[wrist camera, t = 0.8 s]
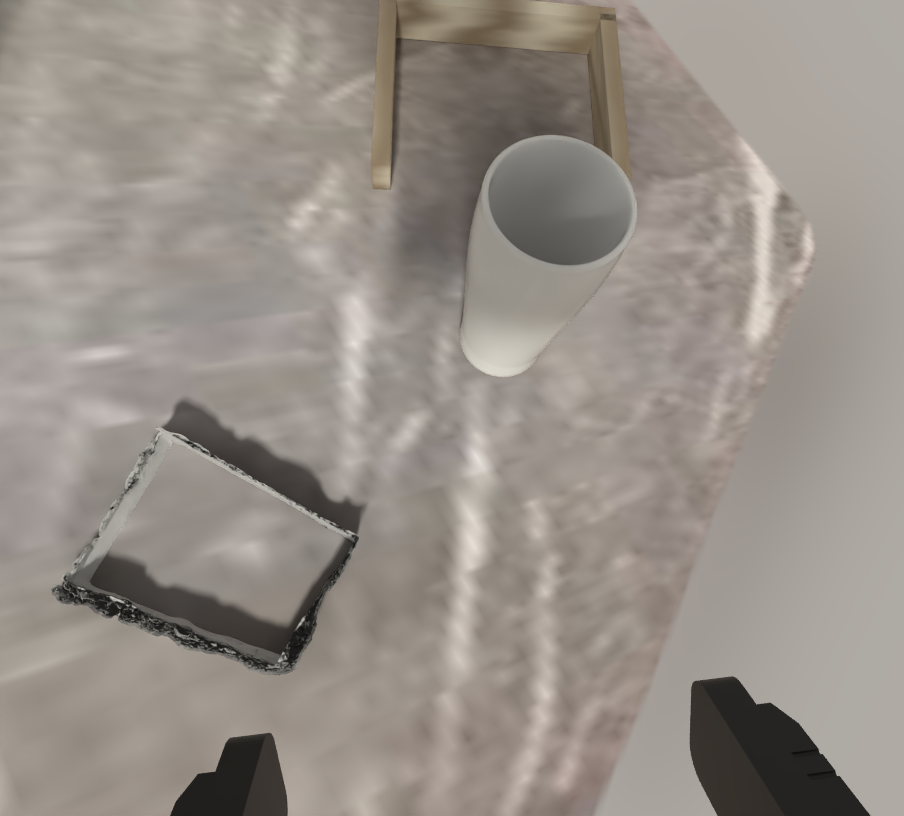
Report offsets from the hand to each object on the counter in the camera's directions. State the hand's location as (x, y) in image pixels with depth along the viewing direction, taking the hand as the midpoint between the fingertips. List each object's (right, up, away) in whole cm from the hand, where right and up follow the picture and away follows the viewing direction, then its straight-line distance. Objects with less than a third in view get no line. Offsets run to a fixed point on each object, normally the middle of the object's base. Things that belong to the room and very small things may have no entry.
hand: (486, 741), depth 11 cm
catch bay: (+3, +29, +33) cm, 44 cm away
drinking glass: (+2, +11, +28) cm, 30 cm away
